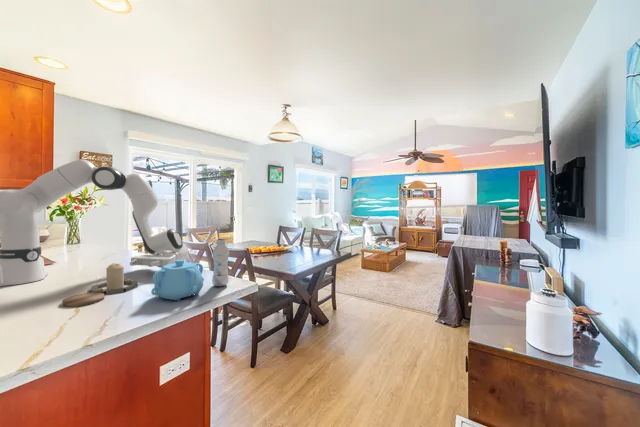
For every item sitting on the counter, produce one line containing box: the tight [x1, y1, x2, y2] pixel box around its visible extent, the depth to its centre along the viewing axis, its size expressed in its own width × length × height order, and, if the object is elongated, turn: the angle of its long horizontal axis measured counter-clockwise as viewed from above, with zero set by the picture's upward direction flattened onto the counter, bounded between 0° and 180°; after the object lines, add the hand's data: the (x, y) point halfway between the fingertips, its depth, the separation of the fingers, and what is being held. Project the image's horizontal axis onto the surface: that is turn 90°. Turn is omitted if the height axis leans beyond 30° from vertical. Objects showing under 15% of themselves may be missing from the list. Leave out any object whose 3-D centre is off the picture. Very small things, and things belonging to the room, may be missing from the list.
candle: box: [105, 263, 125, 290], centre depth 107 cm, size 6×6×10 cm
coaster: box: [61, 292, 105, 308], centre depth 93 cm, size 11×11×1 cm
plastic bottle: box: [211, 238, 230, 287], centre depth 113 cm, size 6×7×20 cm
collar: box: [89, 278, 139, 296], centre depth 107 cm, size 15×15×2 cm
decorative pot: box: [150, 259, 204, 301], centre depth 101 cm, size 16×16×14 cm
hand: (140, 264), depth 119 cm, fingers open, 8 cm apart
